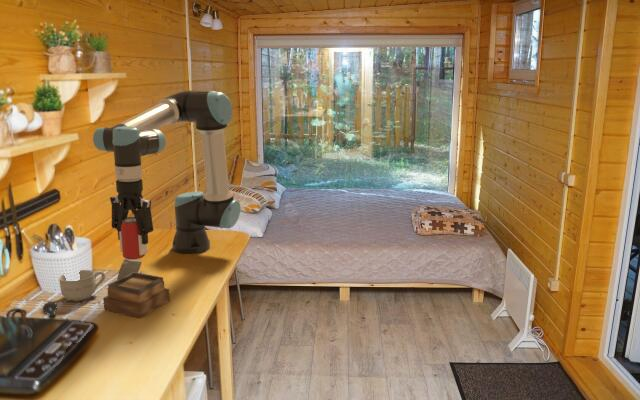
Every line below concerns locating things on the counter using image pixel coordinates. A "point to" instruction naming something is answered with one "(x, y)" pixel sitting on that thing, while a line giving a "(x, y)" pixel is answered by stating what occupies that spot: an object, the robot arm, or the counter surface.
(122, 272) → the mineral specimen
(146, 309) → the tower base
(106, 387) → the counter surface
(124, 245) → the beer can
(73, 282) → the teacup
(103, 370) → the counter surface
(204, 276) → the counter surface
